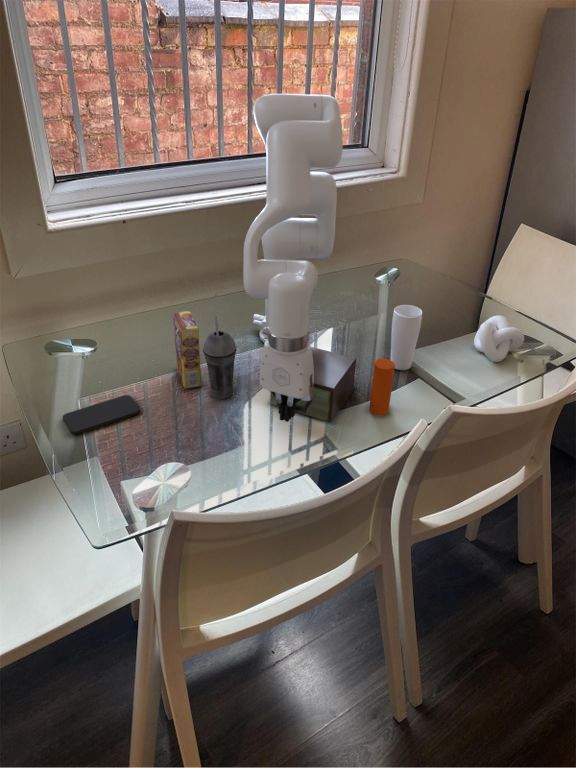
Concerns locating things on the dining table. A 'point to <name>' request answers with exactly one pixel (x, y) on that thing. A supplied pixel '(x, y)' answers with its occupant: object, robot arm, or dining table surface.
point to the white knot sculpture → (498, 338)
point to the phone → (100, 414)
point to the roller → (381, 386)
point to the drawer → (313, 404)
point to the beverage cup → (220, 362)
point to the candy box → (187, 349)
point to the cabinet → (334, 376)
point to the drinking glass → (405, 335)
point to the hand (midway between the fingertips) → (286, 417)
